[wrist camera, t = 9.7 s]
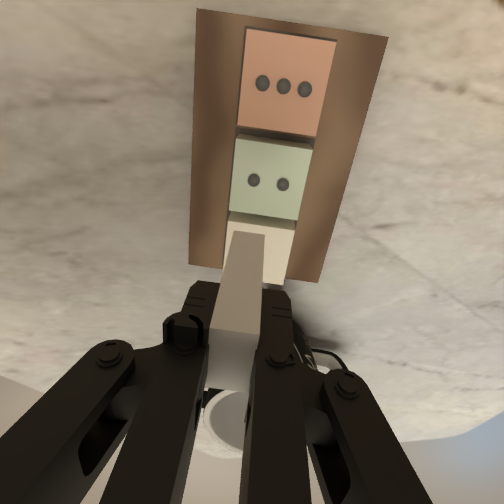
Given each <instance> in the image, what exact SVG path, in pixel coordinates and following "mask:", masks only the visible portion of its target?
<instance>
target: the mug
mask: <svg viewBox="0 0 504 504" xmlns="http://www.w3.org/2000/svg"><path fill="white" fill-rule="evenodd" d="M292 325H293V339H294V349H295V353H296V354H297V356H298V358H299V359H300V360H301V361H302V362H303V363H304V364H305V365H307V366H308V367H310V368H312V369H314V370H317V366H316V365H320V366H324V367H327V368H329V369H330V370H333V369H337V368H338V369H346V370H348V368H347V367H346V365H345V364H344V362H343V361H342V360H341V359H340V358H339V357H338V356H337V355H336V354H334V353H332V352H329V351H324V350H319V349H312V348H310V345H309V343H308V340H307V338H306V336H305V334H304V333H303V331H302V329H301V328H300V327H299V325H298V324H297V323H296V322H295V321H294V320H292ZM317 371H318V370H317ZM248 398H249V393H246V392H238V391H231V390H223V389H216V388H209V389H208V391H204V392H203V403H202V408H204V411H203V422H204V425H205V428H206V430H207V431H208V433H209V434H210V435H211V436H212V438H213V439H215V440H216V441H217V442H218V443H219V444H221V445H223V446H224V447H226V448H228V449H229V450H232V451H234V452H237V453H239V454H243V445H244V433H245V423H244V419H245V414H246V409H247V404H248ZM307 451H308V447H307Z"/></svg>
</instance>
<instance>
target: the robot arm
mask: <svg viewBox="0 0 504 504" xmlns="http://www.w3.org/2000/svg"><path fill="white" fill-rule="evenodd" d="M264 243H265V235H264V234H257V233H250V232H242V231H235V230H234V232H233V236H232V240H231V244H230V248H229V252H228V256H227V260H226V264H225V268H224V272H223V276H222V280H221V283H214V282H207V281H199V280H198V281H197V282H196V283H195V284H193V285H192V286H191V287H190V289H189V292H188V294H187V298H186V300H185V302H184V305H183V307H182V310H181V312H178V313H174V314H172V315H171V316H169V317H167V318H166V320H165V321H164V322H163V343H162V344H159V345H157V346H154V347H150V348H144V349H136V350H134V349H133V348H132V346H131V344H129V343H127V342H125V341H122V340H116V339H115V340H107V341H104V342H102V343H99V344H97V345H96V346H94V347H93V348H91V349H90V350H89V351H88V352H87V353H86V354H85V355H84V356H83V357H82V358H81V359H80V360H79V361H78V362H77V363H76V364H75V365H74V366H73V367H72V368H71V369H70V370H69V371H68V372H67V373H66V374H65V375H64V376H63V377H62V378H60V379H59V380H58V381H57V382H56V383H55V384H54V385H53V386H52V387H51V388H50V389H49V390H48V391H47V392H46V393H45V394H44V395H43V396H42V397H41V398H40V399H39V400H38V401H37V402H36V403H35V404H34V405H33V406H32V407H31V408H30V409H29V410H28V411H27V412H26V413H25V414H24V415H23V416H22V417H21V418H20V419H19V420H18V421H17V422H16V423H15V424H14V425H13V426H12V427H11V428H10V429H9V430H8V431H7V432H6V433H5V434H4V435H3V436H2V437H1V438H0V504H80V503H81V501H82V500H83V498H84V497H85V495H86V494H87V492H88V491H89V489H90V488H91V486H92V485H93V483H94V482H95V480H96V479H97V477H98V476H99V474H100V473H101V471H102V470H103V468H104V467H105V465H106V464H107V462H108V461H109V459H110V458H111V456H112V455H113V453H114V452H115V450H116V449H117V447H118V446H119V444H120V443H121V441H122V440H123V438H124V437H125V435H126V434H127V435H126V438H125V440H124V443H123V445H122V448H121V450H120V453H119V455H118V457H117V460H116V463H115V465H114V468H113V470H112V473H111V475H110V477H109V480H108V482H107V485H106V487H105V490H104V492H103V495H102V498H101V500H100V502H99V504H181V503H182V498H183V493H184V488H185V484H186V478H187V474H188V469H189V465H190V460H191V455H192V450H193V446H194V441H195V436H196V431H197V427H198V422H199V417H200V412H201V408H202V403H203V392H204V387H208V388H216V389H223V390H231V391H238V392H246V393H249V398H248V404H247V409H246V414H245V419H244V423H245V433H244V445H243V457H242V469H241V482H240V495H239V504H312V502H311V490H310V479H309V467H308V455H307V447H308V451H309V454H310V457H311V460H312V463H313V467H314V470H315V473H316V476H317V480H318V483H319V486H320V489H321V492H322V496H323V499H324V502H325V504H433V503H432V501H431V499H430V498H429V496H428V494H427V492H426V490H425V489H424V487H423V485H422V483H421V481H420V480H419V478H418V476H417V474H416V472H415V470H414V469H413V467H412V465H411V463H410V461H409V460H408V458H407V456H406V454H405V452H404V451H403V449H402V447H401V445H400V443H399V442H398V440H397V438H396V436H395V434H394V432H393V431H392V429H391V427H390V425H389V423H388V422H387V420H386V418H385V416H384V414H383V413H382V411H381V409H380V407H379V405H378V404H377V402H376V400H375V398H374V396H373V395H372V393H371V391H370V389H369V387H368V386H367V384H366V383H365V382H364V380H363V379H362V378H361V377H359V376H358V375H357V374H355V373H354V372H351V371H349V370H346V369H338V368H337V369H333V370H330V371H329V372H328V373H327V374H324V373H321V372H319V371H317V370H314V369H312V368H310V367H308V366H307V365H305V364H304V363H303V362H302V361H301V360H300V359H299V358H298V356H297V354H296V353H295V349H294V339H293V325H292V312H291V300H290V298H289V297H288V295H287V294H286V292H285V291H279V290H271V289H264V288H262V281H263V262H264ZM127 432H128V433H127Z"/></svg>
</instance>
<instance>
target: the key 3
mask: <svg viewBox="0 0 504 504" xmlns="http://www.w3.org/2000/svg"><path fill="white" fill-rule="evenodd" d="M336 43H337V42H332V41H326V40H319V39H312V38H306V37H299V36H292V35H286V34H279V33H272V32H266V31H259V30H252V29H247V32H246V42H245V52H244V62H243V72H242V82H241V93H240V103H239V113H238V123H237V125H241V126H248V127H255V128H262V129H268V130H275V131H282V132H288V133H295V134H302V135H309V136H315V137H316V133H317V129H318V124H319V120H320V115H321V111H322V106H323V102H324V97H325V92H326V88H327V83H328V79H329V74H330V70H331V65H332V61H333V56H334V52H335V47H336Z"/></svg>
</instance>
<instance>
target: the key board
mask: <svg viewBox="0 0 504 504" xmlns="http://www.w3.org/2000/svg"><path fill="white" fill-rule="evenodd" d="M247 29H252V30H259V31H266V32H272V33H279V34H286V35H292V36H299V37H306V38H312V39H319V40H326V41H332V42H337V43H336V47H335V52H334V56H333V61H332V65H331V70H330V74H329V79H328V83H327V88H326V92H325V97H324V102H323V106H322V111H321V115H320V120H319V124H318V129H317V133H316V137H315V136H309V135H302V134H295V133H288V132H282V131H275V130H268V129H262V128H255V127H248V126H241V125H237V123H238V113H239V103H240V93H241V82H242V72H243V62H244V52H245V42H246V32H247ZM388 38H389V37H385V36H378V35H372V34H365V33H358V32H352V31H345V30H338V29H332V28H325V27H318V26H312V25H305V24H298V23H292V22H285V21H278V20H272V19H265V18H258V17H252V16H245V15H238V14H232V13H225V12H218V11H212V10H205V9H199V8H197V13H196V44H195V75H194V107H193V138H192V169H191V201H190V232H189V263H188V264H191V265H198V266H205V267H211V268H218V269H223V265H224V255H225V245H226V234H227V224H228V219H229V216H230V213H231V211H229V204H230V194H231V184H232V174H233V163H234V153H235V143H236V138H237V136H238V135H239V133H240V134H246V135H253V136H260V137H267V138H273V139H280V140H287V141H294V142H300V143H307V144H310V145H311V147H312V149H313V152H312V156H311V161H310V165H309V170H308V174H307V179H306V183H305V188H304V192H303V197H302V201H301V206H300V210H299V215H298V220H294V226H295V233H294V238H293V242H292V247H291V251H290V256H289V260H288V265H287V269H286V274H285V278H287V279H293V280H300V281H307V282H314V283H318V281H319V277H320V274H321V270H322V267H323V263H324V260H325V256H326V253H327V249H328V246H329V242H330V239H331V236H332V232H333V229H334V225H335V222H336V218H337V215H338V211H339V208H340V204H341V201H342V197H343V194H344V190H345V187H346V183H347V180H348V177H349V173H350V170H351V166H352V163H353V159H354V156H355V152H356V149H357V145H358V142H359V138H360V135H361V131H362V128H363V125H364V121H365V118H366V114H367V111H368V107H369V104H370V100H371V97H372V93H373V90H374V86H375V83H376V79H377V76H378V72H379V69H380V66H381V62H382V59H383V55H384V52H385V48H386V45H387V41H388Z"/></svg>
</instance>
